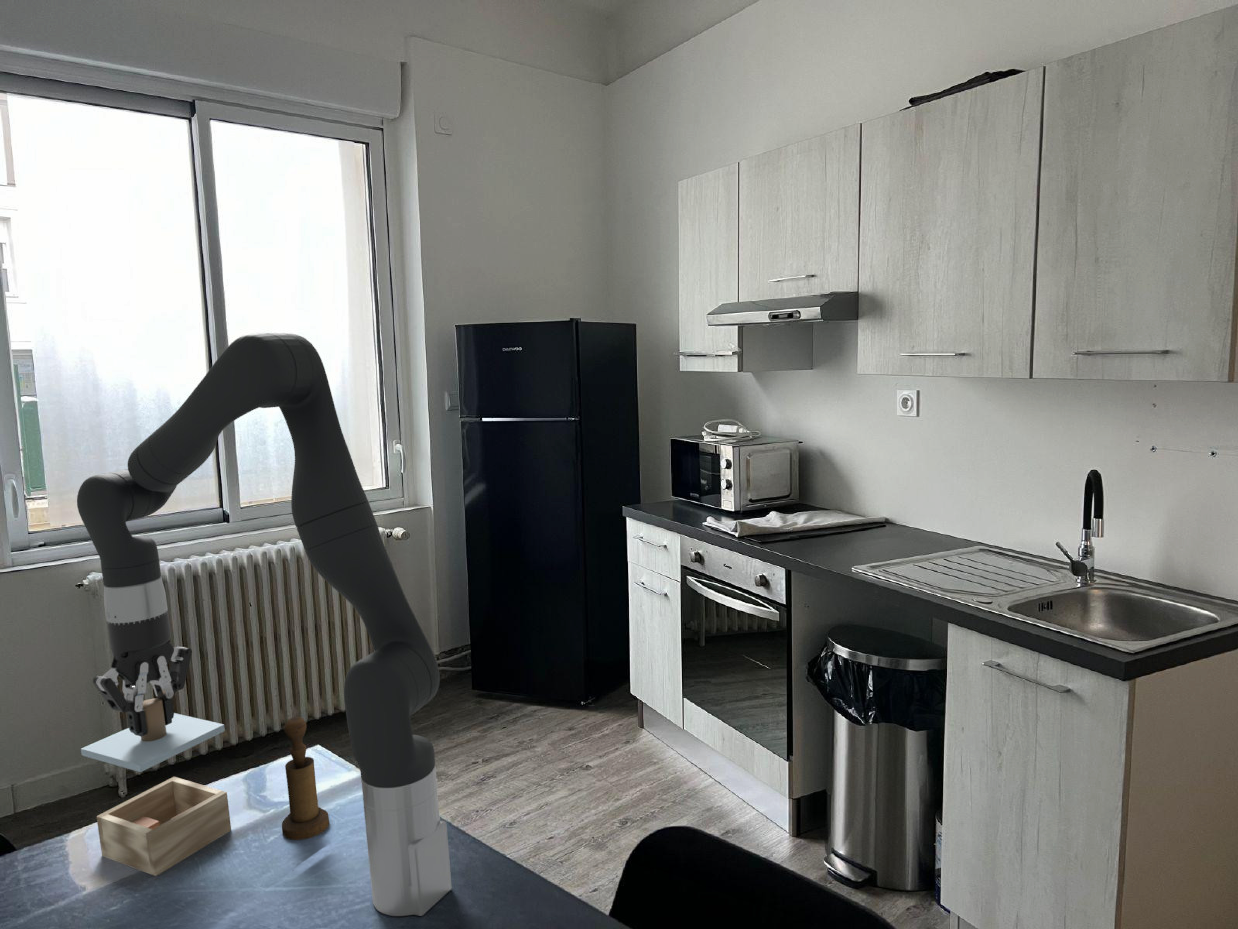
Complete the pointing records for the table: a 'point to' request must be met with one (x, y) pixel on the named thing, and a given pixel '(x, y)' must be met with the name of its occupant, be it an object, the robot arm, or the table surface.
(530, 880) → the table surface
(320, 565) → the robot arm
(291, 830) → the mortar and pestle
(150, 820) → the block
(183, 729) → the lid
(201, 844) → the box
